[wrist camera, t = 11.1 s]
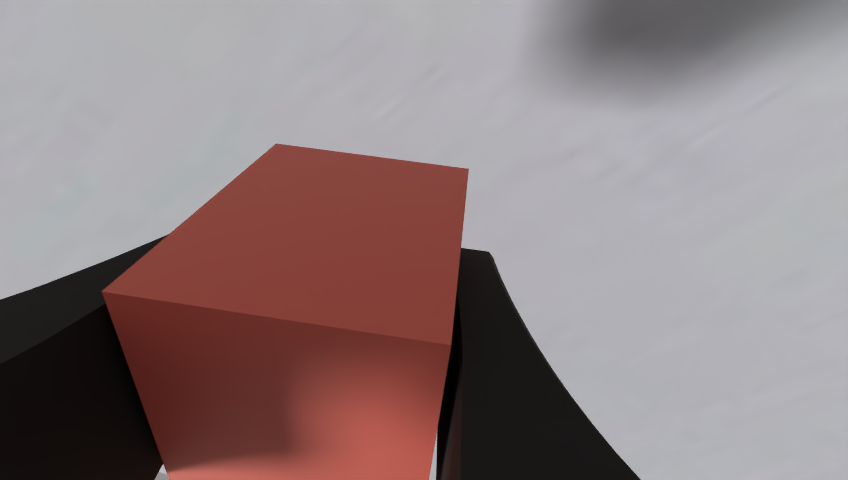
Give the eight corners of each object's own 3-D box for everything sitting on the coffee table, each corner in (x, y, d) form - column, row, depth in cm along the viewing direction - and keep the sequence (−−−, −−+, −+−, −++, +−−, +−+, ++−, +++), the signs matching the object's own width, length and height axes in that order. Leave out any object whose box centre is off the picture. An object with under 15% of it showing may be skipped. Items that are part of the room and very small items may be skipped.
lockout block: (468, 169, 9) (451, 345, 5) (445, 318, 11) (420, 532, 7) (275, 143, 9) (101, 291, 5) (288, 295, 12) (172, 488, 7)
